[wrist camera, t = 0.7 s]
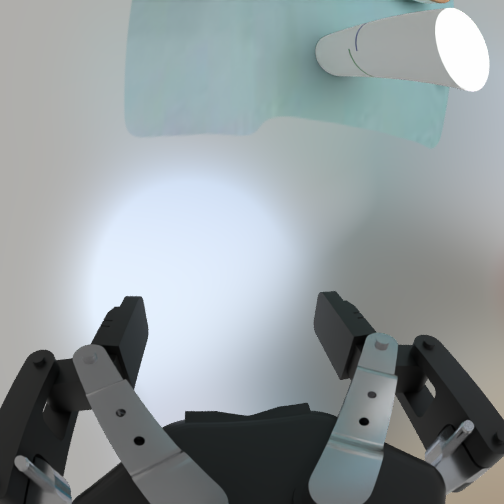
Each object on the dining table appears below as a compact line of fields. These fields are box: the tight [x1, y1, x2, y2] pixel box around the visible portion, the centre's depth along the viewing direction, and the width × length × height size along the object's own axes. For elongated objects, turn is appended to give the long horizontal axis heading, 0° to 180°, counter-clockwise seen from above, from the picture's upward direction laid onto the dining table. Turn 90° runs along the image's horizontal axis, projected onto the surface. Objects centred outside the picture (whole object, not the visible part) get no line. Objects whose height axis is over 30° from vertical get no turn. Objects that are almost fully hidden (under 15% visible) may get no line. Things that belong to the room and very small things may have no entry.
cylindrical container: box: [315, 8, 489, 92], centre depth 21 cm, size 7×7×25 cm
